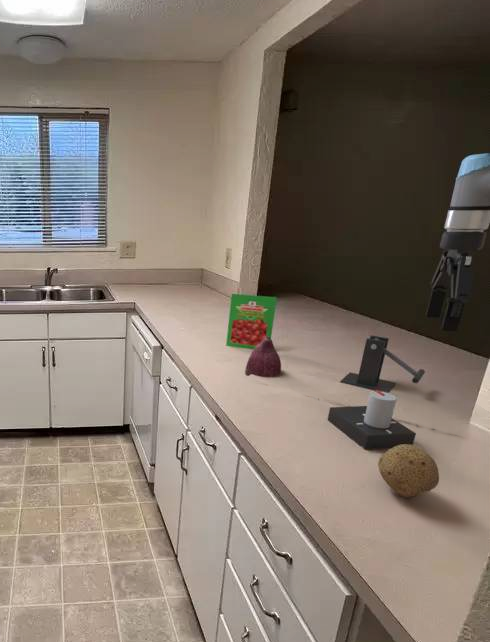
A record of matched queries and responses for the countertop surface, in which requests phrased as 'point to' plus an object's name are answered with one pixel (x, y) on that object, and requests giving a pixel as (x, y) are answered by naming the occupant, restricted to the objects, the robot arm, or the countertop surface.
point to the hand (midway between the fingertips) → (440, 323)
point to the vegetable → (264, 360)
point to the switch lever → (405, 366)
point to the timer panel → (369, 429)
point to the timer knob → (380, 409)
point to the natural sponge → (408, 470)
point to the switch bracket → (371, 367)
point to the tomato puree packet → (250, 320)
